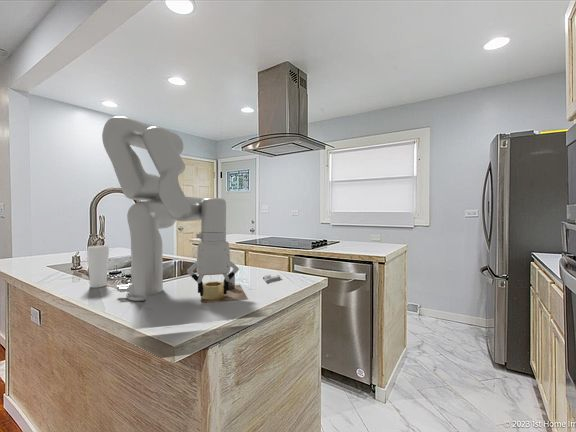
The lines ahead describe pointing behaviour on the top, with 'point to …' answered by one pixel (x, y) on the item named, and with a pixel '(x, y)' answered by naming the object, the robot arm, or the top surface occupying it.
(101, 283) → the drinking glass
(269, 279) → the adjustable wrench
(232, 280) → the steel post
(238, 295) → the walnut board
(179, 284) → the top surface
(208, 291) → the brass ring
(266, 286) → the top surface
